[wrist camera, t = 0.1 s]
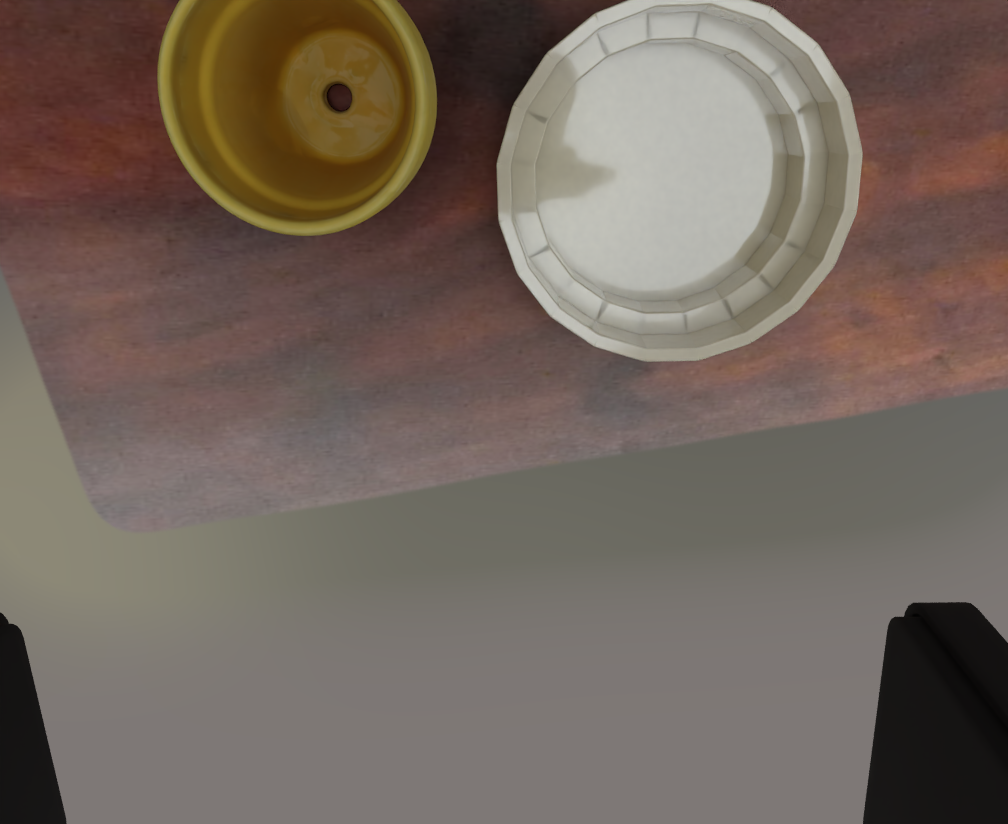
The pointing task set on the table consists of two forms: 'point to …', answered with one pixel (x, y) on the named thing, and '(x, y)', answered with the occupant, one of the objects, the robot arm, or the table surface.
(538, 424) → the table surface
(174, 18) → the flower pot
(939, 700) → the robot arm
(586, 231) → the bowl
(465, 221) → the table surface
